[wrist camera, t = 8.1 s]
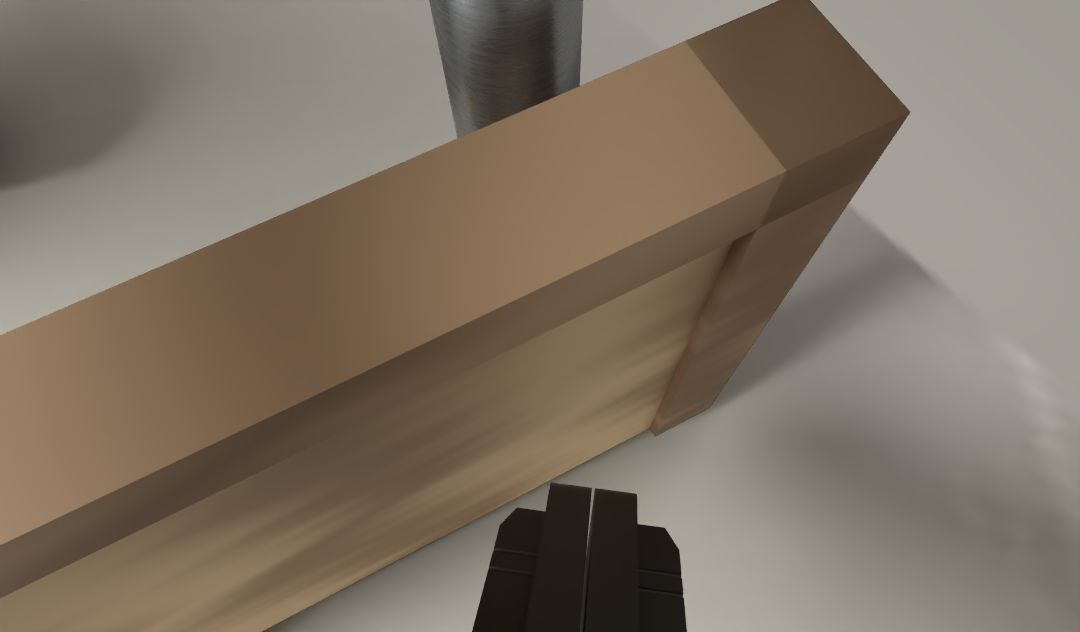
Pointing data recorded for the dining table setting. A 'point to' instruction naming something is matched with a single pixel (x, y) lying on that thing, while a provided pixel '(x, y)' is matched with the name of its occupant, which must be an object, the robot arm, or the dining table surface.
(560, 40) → the grey upright posts
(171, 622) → the gate
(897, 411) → the dining table surface
